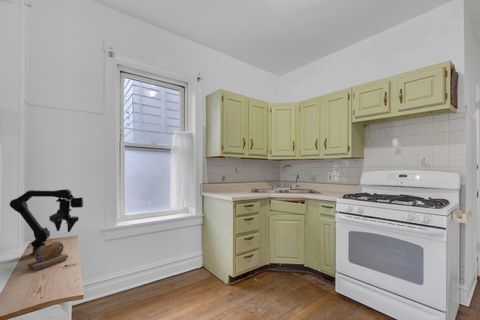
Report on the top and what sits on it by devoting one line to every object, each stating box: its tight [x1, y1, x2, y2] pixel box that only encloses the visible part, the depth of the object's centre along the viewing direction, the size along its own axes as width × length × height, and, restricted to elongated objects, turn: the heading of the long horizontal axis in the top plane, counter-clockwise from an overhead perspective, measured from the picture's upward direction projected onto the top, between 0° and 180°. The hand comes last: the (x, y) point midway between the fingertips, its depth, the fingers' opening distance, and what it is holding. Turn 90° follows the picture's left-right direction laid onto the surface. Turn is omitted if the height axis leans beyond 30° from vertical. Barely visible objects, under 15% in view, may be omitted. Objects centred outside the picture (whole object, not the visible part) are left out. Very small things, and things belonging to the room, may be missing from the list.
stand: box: [26, 253, 69, 271], centre depth 139 cm, size 8×17×3 cm, turn 165°
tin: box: [33, 241, 64, 261], centre depth 139 cm, size 15×3×8 cm, turn 165°
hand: (63, 231), depth 161 cm, fingers open, 9 cm apart
